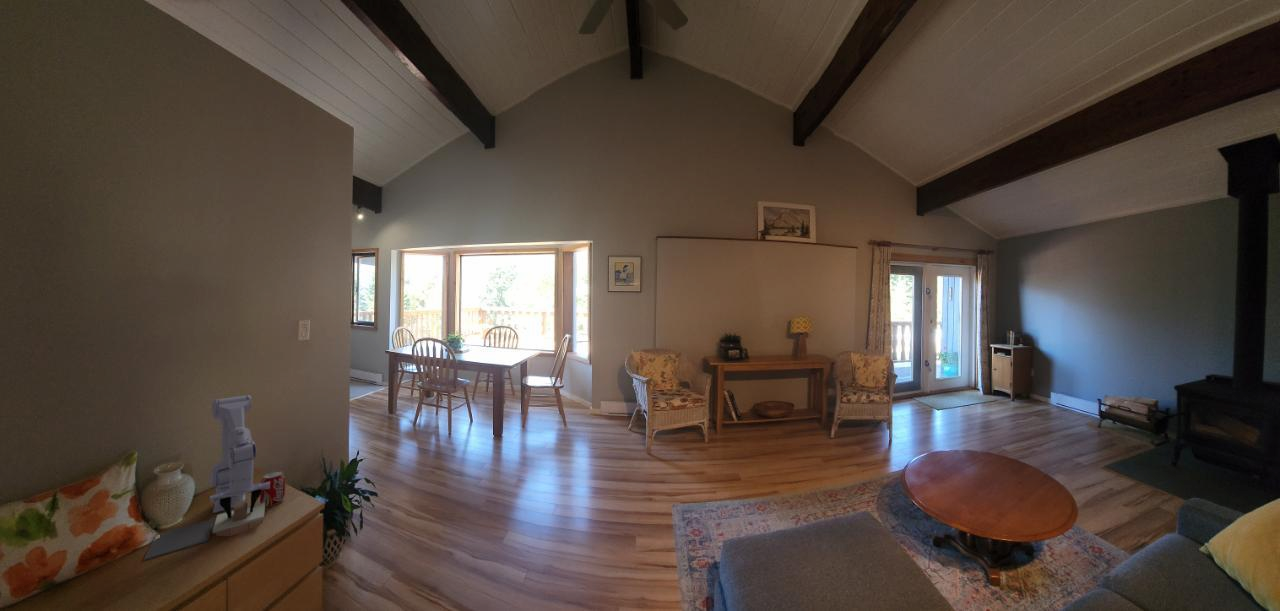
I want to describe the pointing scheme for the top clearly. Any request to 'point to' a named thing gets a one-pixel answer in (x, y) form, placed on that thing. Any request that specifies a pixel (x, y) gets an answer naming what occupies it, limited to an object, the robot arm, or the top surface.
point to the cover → (239, 516)
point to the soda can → (273, 488)
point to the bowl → (238, 528)
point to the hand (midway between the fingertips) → (240, 514)
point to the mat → (180, 539)
